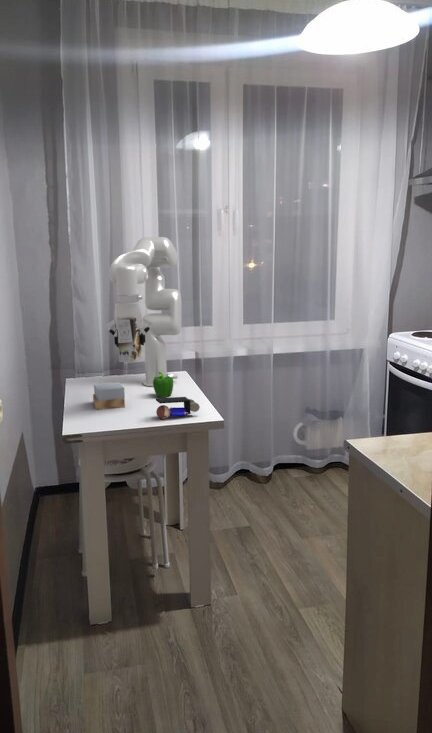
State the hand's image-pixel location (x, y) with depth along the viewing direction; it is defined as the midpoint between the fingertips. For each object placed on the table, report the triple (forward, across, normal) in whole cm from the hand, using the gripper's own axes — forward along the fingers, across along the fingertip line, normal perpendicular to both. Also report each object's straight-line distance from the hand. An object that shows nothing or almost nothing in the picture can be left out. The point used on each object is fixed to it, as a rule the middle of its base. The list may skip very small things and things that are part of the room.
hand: (130, 345), depth 216 cm
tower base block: (+25, +8, -9) cm, 28 cm away
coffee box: (+6, 0, 0) cm, 6 cm away
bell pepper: (+25, -15, -15) cm, 33 cm away
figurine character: (+25, -14, +15) cm, 32 cm away
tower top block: (+21, +8, -9) cm, 24 cm away
